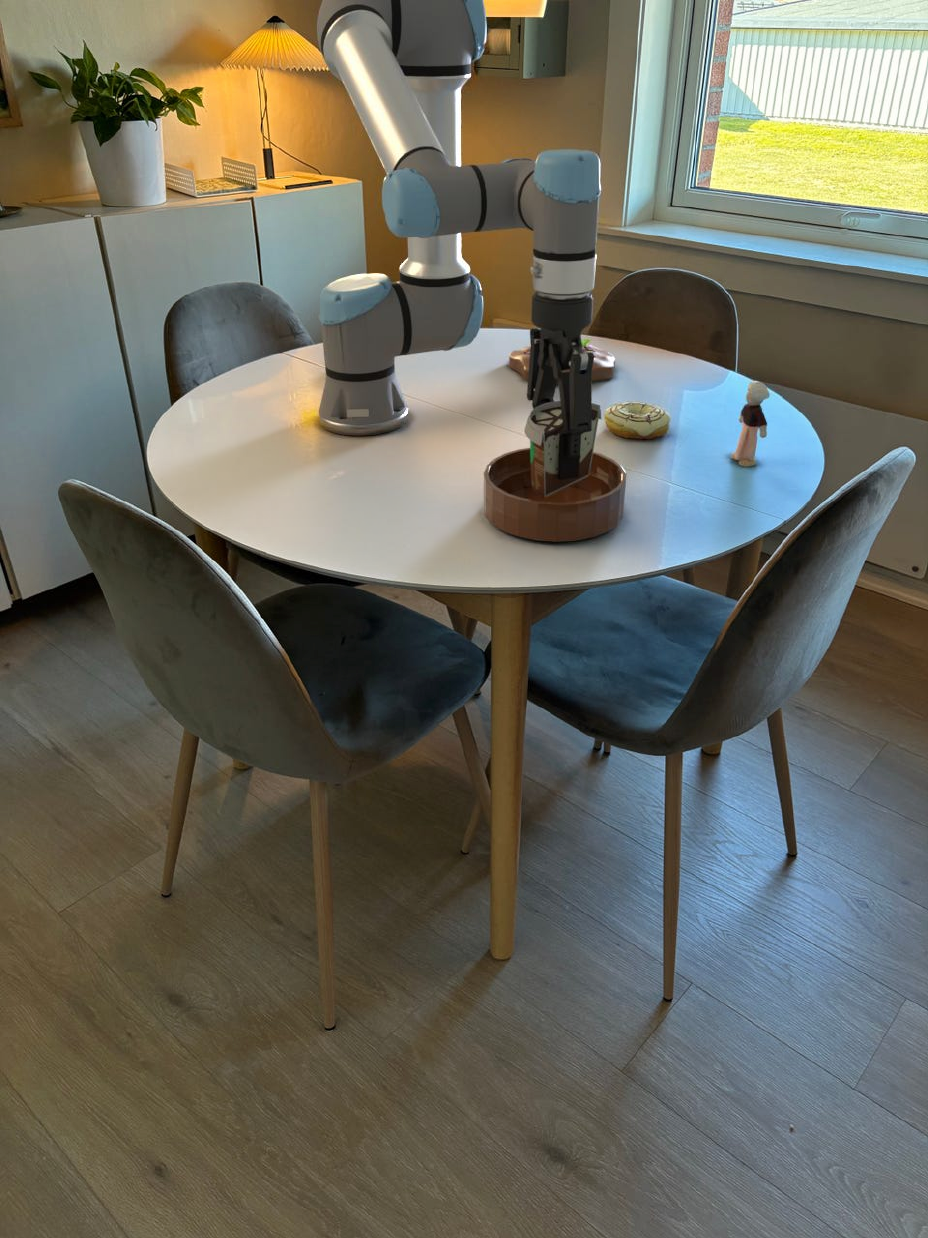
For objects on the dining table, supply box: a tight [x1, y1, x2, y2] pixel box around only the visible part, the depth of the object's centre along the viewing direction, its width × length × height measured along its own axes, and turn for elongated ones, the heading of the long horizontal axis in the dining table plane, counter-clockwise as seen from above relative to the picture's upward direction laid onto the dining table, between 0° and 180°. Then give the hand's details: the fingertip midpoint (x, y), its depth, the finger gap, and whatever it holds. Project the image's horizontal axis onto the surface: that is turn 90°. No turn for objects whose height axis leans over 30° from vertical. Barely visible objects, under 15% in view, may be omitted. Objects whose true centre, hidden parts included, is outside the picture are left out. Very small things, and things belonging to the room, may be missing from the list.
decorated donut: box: [603, 401, 671, 440], centre depth 154 cm, size 10×11×4 cm
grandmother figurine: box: [730, 380, 771, 468], centre depth 140 cm, size 8×4×13 cm, turn 23°
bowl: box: [483, 447, 627, 543], centre depth 128 cm, size 19×19×6 cm
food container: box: [524, 400, 602, 498], centre depth 125 cm, size 12×6×10 cm, turn 135°
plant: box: [508, 325, 616, 386], centre depth 180 cm, size 20×20×11 cm
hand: (555, 466), depth 126 cm, fingers closed on food container, 7 cm apart
